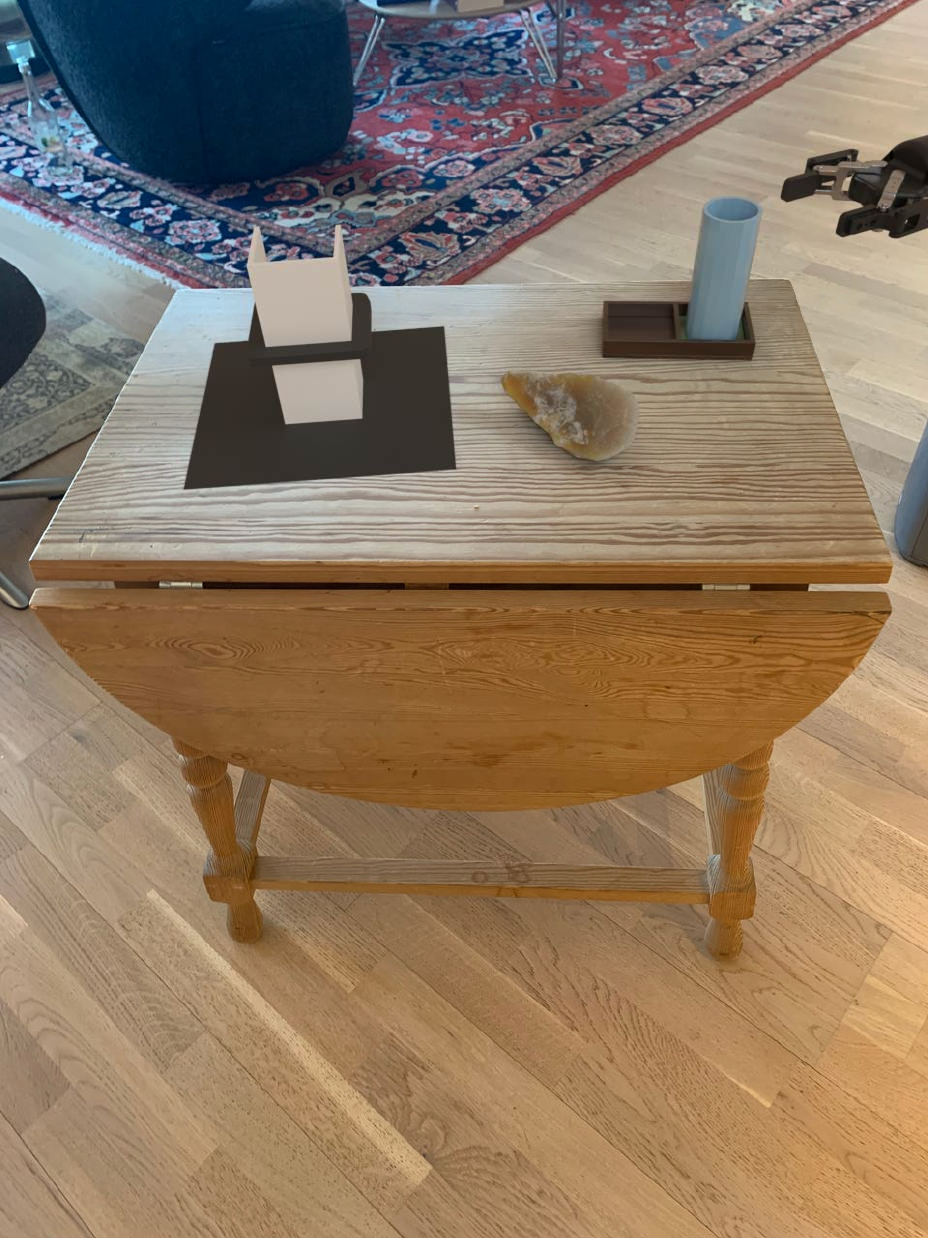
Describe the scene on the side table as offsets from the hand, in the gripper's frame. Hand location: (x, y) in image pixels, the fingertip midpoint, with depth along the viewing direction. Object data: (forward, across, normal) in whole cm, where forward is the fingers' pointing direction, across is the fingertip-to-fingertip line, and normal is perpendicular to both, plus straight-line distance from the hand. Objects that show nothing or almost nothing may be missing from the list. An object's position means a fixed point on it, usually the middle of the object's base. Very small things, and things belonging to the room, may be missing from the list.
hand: (811, 207), depth 91 cm
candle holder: (+49, -9, +12) cm, 51 cm away
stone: (+31, +7, +12) cm, 34 cm away
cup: (+10, 0, +11) cm, 15 cm away
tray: (+13, -2, +12) cm, 17 cm away
